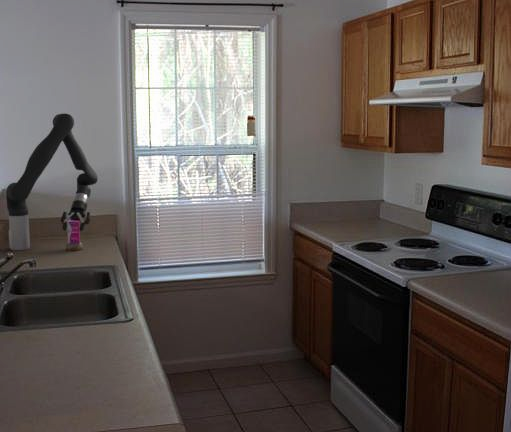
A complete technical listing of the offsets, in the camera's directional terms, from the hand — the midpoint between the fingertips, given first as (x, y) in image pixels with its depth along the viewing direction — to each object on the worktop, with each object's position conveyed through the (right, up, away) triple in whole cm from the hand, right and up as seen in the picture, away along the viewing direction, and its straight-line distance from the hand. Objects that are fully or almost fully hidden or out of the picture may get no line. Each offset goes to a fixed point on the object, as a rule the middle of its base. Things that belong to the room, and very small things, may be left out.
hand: (72, 230), depth 336 cm
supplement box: (0, -7, +3) cm, 7 cm away
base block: (0, -10, +3) cm, 10 cm away
